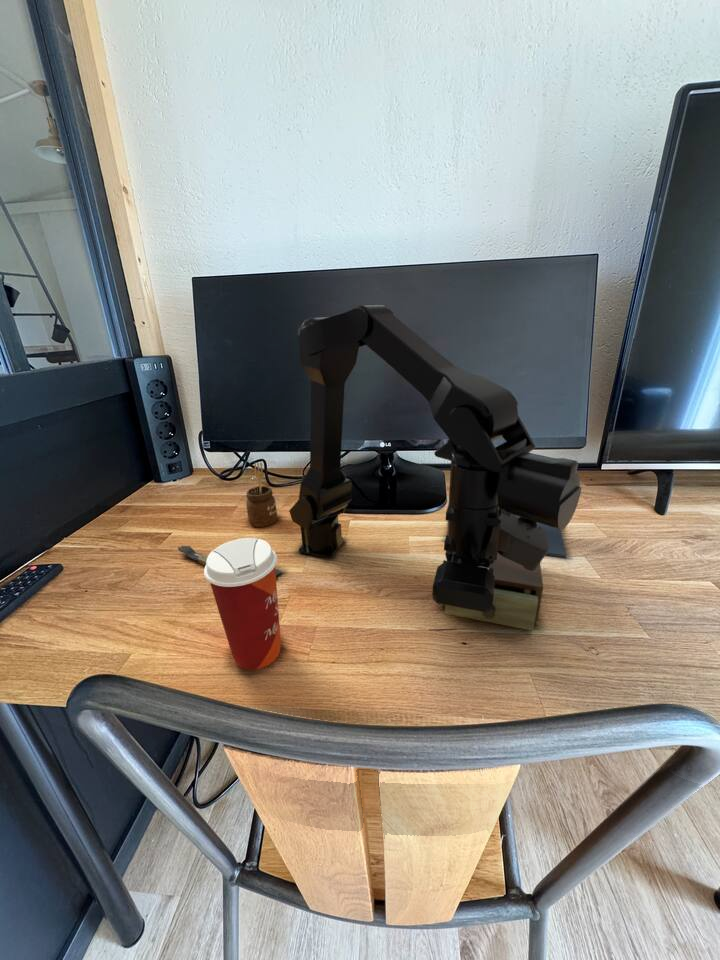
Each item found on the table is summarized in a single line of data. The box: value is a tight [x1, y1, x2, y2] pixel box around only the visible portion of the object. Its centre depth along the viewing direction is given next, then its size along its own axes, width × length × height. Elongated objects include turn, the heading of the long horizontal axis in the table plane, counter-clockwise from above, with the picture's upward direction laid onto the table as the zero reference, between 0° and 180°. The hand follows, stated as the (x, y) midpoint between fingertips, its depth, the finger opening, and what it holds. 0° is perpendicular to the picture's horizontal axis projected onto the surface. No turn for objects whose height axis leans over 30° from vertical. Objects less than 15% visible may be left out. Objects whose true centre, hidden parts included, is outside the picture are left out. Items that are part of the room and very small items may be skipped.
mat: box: [537, 522, 567, 559], centre depth 77 cm, size 20×14×1 cm
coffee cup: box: [203, 537, 282, 671], centre depth 49 cm, size 8×8×15 cm
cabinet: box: [441, 553, 544, 627], centre depth 61 cm, size 15×13×7 cm
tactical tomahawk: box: [177, 545, 283, 577], centre depth 70 cm, size 21×7×1 cm, turn 57°
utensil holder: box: [245, 461, 278, 528], centre depth 82 cm, size 6×6×12 cm
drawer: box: [444, 584, 538, 631], centre depth 58 cm, size 15×11×5 cm
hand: (464, 604), depth 53 cm, fingers closed
